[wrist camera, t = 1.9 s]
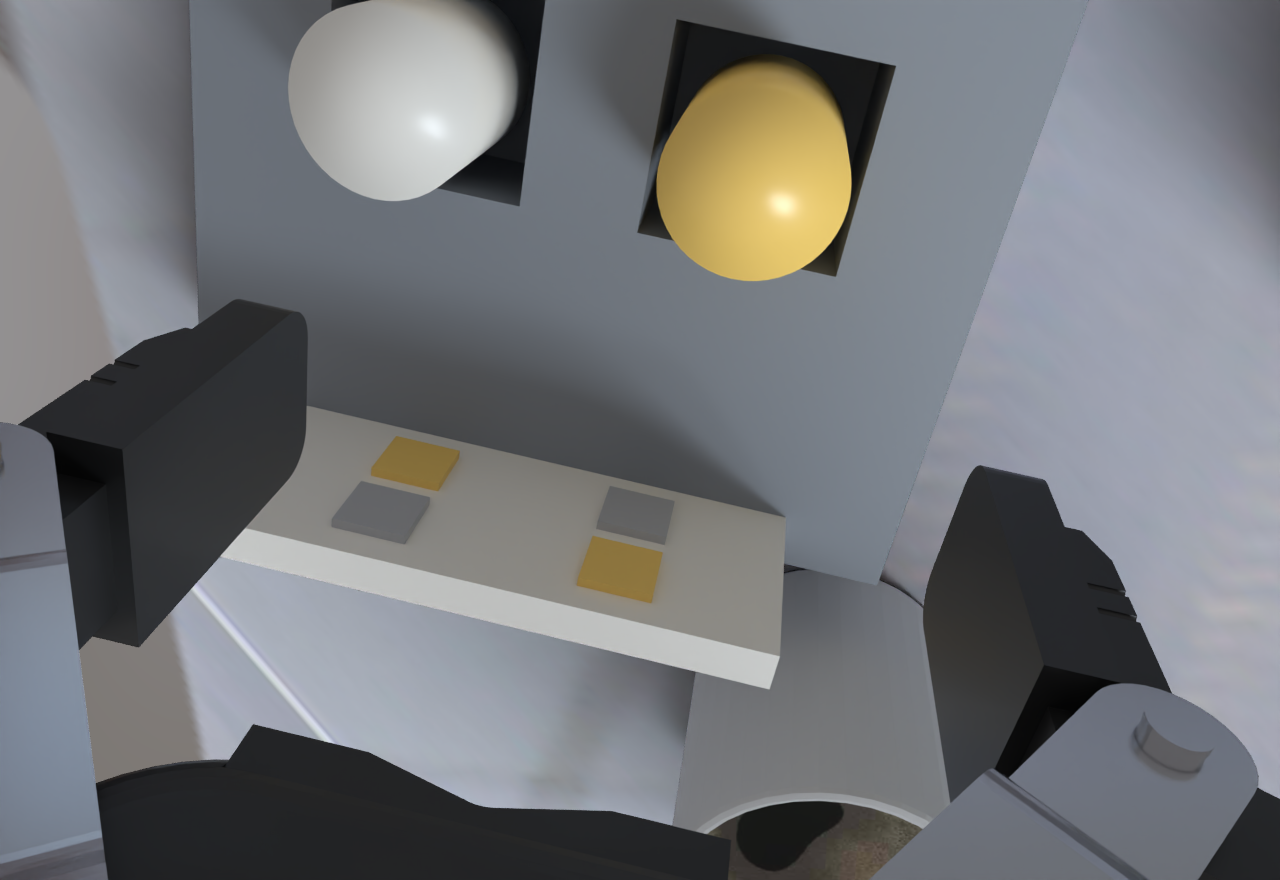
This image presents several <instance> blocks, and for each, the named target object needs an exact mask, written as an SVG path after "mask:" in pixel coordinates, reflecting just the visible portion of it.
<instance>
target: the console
mask: <svg viewBox="0 0 1280 880" xmlns="http://www.w3.org/2000/svg"><path fill="white" fill-rule="evenodd" d="M365 1H369V0H189V15H190V49H191V82H192V116H193V149H194V182H195V216H196V249H197V283H198V316H199V324H200V323H201V322H203V321H204V320H206V319H207V318H208V317H210V316H211V315H213V314H214V313H216V312H217V311H218V310H220V309H221V308H223V307H224V306H225V305H227V304H228V303H230V302H231V301H233V300H235V299H243V300H247V301H252V302H256V303H261V304H265V305H270V306H274V307H279V308H283V309H288V310H292V311H297V312H300V313H301V314H302V315H303V316H304V318H305V320H306V324H307V330H308V357H307V414H306V436H305V442H304V446H303V450H302V454H301V457H300V460H299V462H298V464H297V467H296V469H295V471H294V472H293V474H292V476H291V477H290V478H289V480H288V481H287V482H286V483H285V484H284V485H283V486H282V487H281V489H280V490H279V491H278V492H277V493H276V494H275V495H274V496H273V498H272V499H271V500H270V501H269V502H268V503H267V504H266V505H265V506H264V508H263V509H262V510H261V511H260V512H259V513H258V514H257V515H256V517H255V518H254V519H253V520H252V521H251V522H250V523H249V524H248V526H247V527H246V528H245V529H244V530H243V531H242V532H241V533H240V535H239V536H238V537H237V538H236V539H235V540H234V541H233V542H232V543H231V545H230V546H229V547H228V548H227V549H226V550H225V551H224V552H223V554H222V555H221V556H220V557H223V558H227V559H232V560H236V561H240V562H244V563H248V564H252V565H256V566H261V567H265V568H269V569H273V570H277V571H281V572H285V573H290V574H294V575H298V576H302V577H306V578H310V579H314V580H319V581H323V582H327V583H331V584H335V585H339V586H343V587H347V588H352V589H356V590H360V591H364V592H368V593H372V594H376V595H381V596H385V597H389V598H393V599H397V600H401V601H405V602H410V603H414V604H418V605H422V606H426V607H430V608H434V609H439V610H443V611H447V612H451V613H455V614H459V615H463V616H468V617H472V618H476V619H480V620H484V621H488V622H492V623H496V624H501V625H505V626H509V627H513V628H517V629H521V630H525V631H530V632H534V633H538V634H542V635H546V636H550V637H554V638H559V639H563V640H567V641H571V642H575V643H579V644H583V645H588V646H592V647H596V648H600V649H604V650H608V651H612V652H617V653H621V654H625V655H629V656H633V657H637V658H641V659H645V660H650V661H654V662H658V663H662V664H666V665H670V666H674V667H679V668H683V669H687V670H691V671H695V672H699V673H703V674H708V675H712V676H716V677H720V678H724V679H728V680H732V681H737V682H741V683H745V684H749V685H753V686H757V687H761V688H765V689H770V686H771V683H772V680H773V677H774V674H775V670H776V667H777V664H778V661H779V658H780V644H781V621H782V598H783V575H784V564H787V565H792V566H796V567H800V568H804V569H809V570H813V571H817V572H821V573H826V574H830V575H834V576H838V577H843V578H847V579H851V580H855V581H860V582H864V583H868V584H872V585H877V584H878V582H879V579H880V576H881V573H882V571H883V568H884V565H885V562H886V559H887V557H888V554H889V551H890V548H891V546H892V543H893V540H894V537H895V535H896V532H897V529H898V526H899V524H900V521H901V518H902V515H903V512H904V510H905V507H906V504H907V501H908V499H909V496H910V493H911V490H912V488H913V485H914V482H915V479H916V477H917V474H918V471H919V468H920V465H921V463H922V460H923V457H924V454H925V452H926V449H927V446H928V443H929V441H930V438H931V435H932V432H933V430H934V427H935V424H936V421H937V419H938V416H939V413H940V410H941V407H942V405H943V402H944V399H945V396H946V394H947V391H948V388H949V385H950V383H951V380H952V377H953V374H954V372H955V369H956V366H957V363H958V360H959V358H960V355H961V352H962V349H963V347H964V344H965V341H966V338H967V336H968V333H969V330H970V327H971V325H972V322H973V319H974V316H975V313H976V311H977V308H978V305H979V302H980V300H981V297H982V294H983V291H984V289H985V286H986V283H987V280H988V278H989V275H990V272H991V269H992V266H993V264H994V261H995V258H996V255H997V253H998V250H999V247H1000V244H1001V242H1002V239H1003V236H1004V233H1005V231H1006V228H1007V225H1008V222H1009V220H1010V217H1011V214H1012V211H1013V208H1014V206H1015V203H1016V200H1017V197H1018V195H1019V192H1020V189H1021V186H1022V184H1023V181H1024V178H1025V175H1026V173H1027V170H1028V167H1029V164H1030V161H1031V159H1032V156H1033V153H1034V150H1035V148H1036V145H1037V142H1038V139H1039V137H1040V134H1041V131H1042V128H1043V126H1044V123H1045V120H1046V117H1047V114H1048V112H1049V109H1050V106H1051V103H1052V101H1053V98H1054V95H1055V92H1056V90H1057V87H1058V84H1059V81H1060V79H1061V76H1062V73H1063V70H1064V68H1065V65H1066V62H1067V59H1068V56H1069V54H1070V51H1071V48H1072V45H1073V43H1074V40H1075V37H1076V34H1077V32H1078V29H1079V26H1080V23H1081V21H1082V18H1083V15H1084V12H1085V9H1086V7H1087V4H1088V1H1089V0H490V1H491V2H493V3H494V4H495V5H496V6H498V7H499V8H500V9H501V10H502V11H503V12H504V13H505V14H506V16H507V17H508V18H509V19H510V21H511V22H512V23H513V25H514V26H515V28H516V30H517V32H518V33H519V35H520V37H521V40H522V42H523V44H524V47H525V50H526V54H527V57H528V63H529V72H530V84H529V92H528V98H527V101H526V104H525V108H524V110H523V112H522V114H521V116H520V118H519V120H518V121H517V123H516V124H515V126H514V127H513V128H512V129H511V130H510V132H509V133H508V134H507V135H505V136H504V137H503V138H502V139H501V140H499V141H498V142H497V143H496V144H494V145H493V146H492V147H490V148H489V149H488V150H486V151H485V152H484V153H482V154H481V155H480V156H478V157H477V158H476V159H475V160H473V161H472V162H471V163H469V164H468V165H467V166H465V167H464V168H463V169H461V170H460V171H459V172H457V173H456V174H455V175H454V176H452V177H451V178H450V179H448V180H447V181H446V182H444V183H443V184H442V185H440V186H439V187H438V188H436V189H434V190H433V191H431V192H429V193H427V194H425V195H423V196H420V197H417V198H413V199H410V200H402V201H384V200H377V199H372V198H369V197H366V196H362V195H360V194H358V193H355V192H353V191H351V190H349V189H347V188H346V187H344V186H342V185H341V184H339V183H338V182H337V181H335V180H334V179H333V178H331V177H330V176H329V175H328V174H327V173H326V172H325V171H324V170H323V169H321V167H320V166H319V165H318V164H317V163H316V162H315V160H314V159H313V158H312V157H311V155H310V154H309V152H308V151H307V149H306V148H305V146H304V144H303V142H302V141H301V139H300V137H299V134H298V132H297V130H296V127H295V125H294V121H293V118H292V114H291V110H290V104H289V95H288V81H289V71H290V67H291V62H292V59H293V56H294V53H295V50H296V48H297V46H298V45H299V43H300V41H301V39H302V38H303V36H304V35H305V33H306V32H307V31H308V29H309V28H310V27H311V26H312V25H313V24H314V23H315V22H316V21H318V20H319V19H320V18H322V17H323V16H324V15H326V14H328V13H330V12H332V11H334V10H336V9H338V8H341V7H344V6H347V5H351V4H356V3H360V2H365ZM758 54H774V55H781V56H785V57H789V58H792V59H795V60H797V61H799V62H801V63H803V64H805V65H807V66H808V67H810V68H811V69H813V70H814V71H815V72H816V73H818V74H819V75H820V76H821V77H822V78H823V79H824V80H825V82H826V83H827V84H828V85H829V87H830V88H831V90H832V91H833V93H834V94H835V96H836V98H837V100H838V103H839V105H840V108H841V111H842V115H843V120H844V126H845V133H846V140H847V147H848V154H849V162H850V169H851V183H852V184H851V197H850V201H849V206H848V210H847V213H846V216H845V218H844V221H843V223H842V225H841V227H840V229H839V231H838V233H837V234H836V236H835V237H834V239H833V240H832V242H831V243H830V244H829V245H828V246H827V248H826V249H825V250H824V251H823V252H822V253H821V254H820V255H819V256H818V257H816V258H815V259H814V260H813V261H812V262H810V263H809V264H807V265H806V266H804V267H803V268H801V269H799V270H797V271H795V272H793V273H791V274H788V275H785V276H782V277H779V278H775V279H770V280H762V281H742V280H735V279H730V278H727V277H723V276H720V275H717V274H715V273H713V272H710V271H708V270H707V269H705V268H703V267H702V266H700V265H698V264H697V263H696V262H694V261H693V260H692V259H690V258H689V257H688V256H687V255H686V254H685V253H684V252H683V251H682V250H681V249H680V248H679V246H678V245H677V244H676V243H675V241H674V240H673V239H672V237H671V235H670V233H669V232H668V230H667V228H666V226H665V224H664V221H663V219H662V216H661V213H660V209H659V205H658V199H657V172H658V166H659V162H660V158H661V154H662V152H663V149H664V147H665V144H666V142H667V141H668V139H669V137H670V135H671V133H672V132H673V130H674V128H675V127H676V125H677V123H678V122H679V120H680V119H681V117H682V115H683V114H684V112H685V110H686V109H687V107H688V105H689V104H690V102H691V101H692V99H693V97H694V96H695V94H696V92H697V91H698V90H699V88H700V87H701V86H702V84H703V83H704V82H705V81H706V80H707V79H708V78H709V77H710V76H711V75H712V74H713V73H715V72H716V71H717V70H718V69H720V68H721V67H723V66H725V65H726V64H728V63H730V62H732V61H735V60H737V59H740V58H743V57H747V56H751V55H758Z"/></svg>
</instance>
